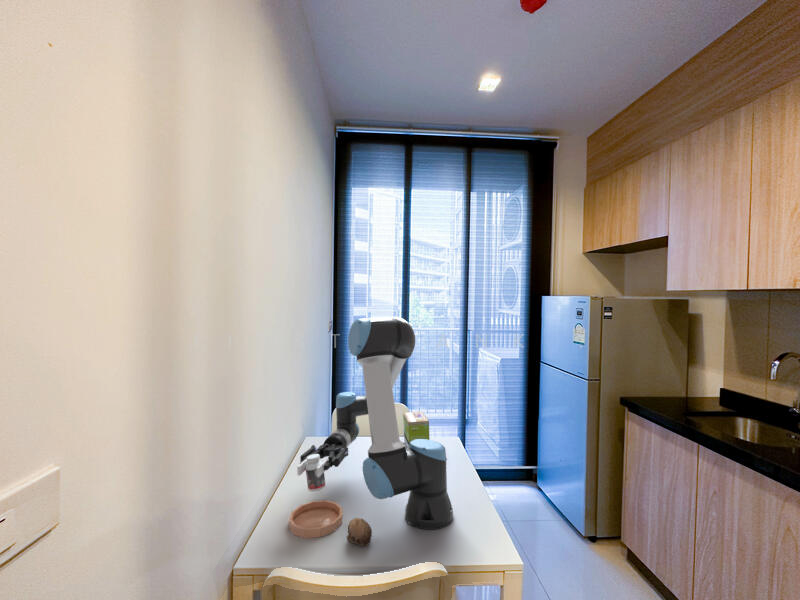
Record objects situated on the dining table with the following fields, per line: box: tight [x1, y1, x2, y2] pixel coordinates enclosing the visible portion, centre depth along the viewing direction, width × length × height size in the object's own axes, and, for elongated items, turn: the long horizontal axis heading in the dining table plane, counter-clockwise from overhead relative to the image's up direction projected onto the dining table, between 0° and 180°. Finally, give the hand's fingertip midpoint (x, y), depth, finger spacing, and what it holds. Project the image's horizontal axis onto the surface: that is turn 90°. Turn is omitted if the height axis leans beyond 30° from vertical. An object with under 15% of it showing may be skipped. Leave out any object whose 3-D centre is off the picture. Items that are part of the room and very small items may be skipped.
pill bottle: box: [305, 454, 326, 492], centre depth 115 cm, size 5×5×10 cm
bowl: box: [288, 499, 344, 539], centre depth 115 cm, size 16×16×2 cm
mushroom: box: [346, 517, 373, 547], centre depth 105 cm, size 8×8×6 cm
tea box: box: [402, 411, 431, 449], centre depth 175 cm, size 15×10×15 cm
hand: (308, 471), depth 111 cm, fingers closed on pill bottle, 6 cm apart
